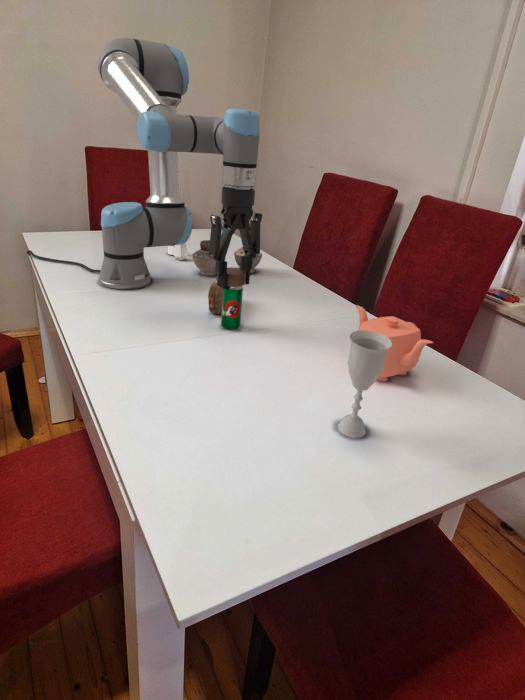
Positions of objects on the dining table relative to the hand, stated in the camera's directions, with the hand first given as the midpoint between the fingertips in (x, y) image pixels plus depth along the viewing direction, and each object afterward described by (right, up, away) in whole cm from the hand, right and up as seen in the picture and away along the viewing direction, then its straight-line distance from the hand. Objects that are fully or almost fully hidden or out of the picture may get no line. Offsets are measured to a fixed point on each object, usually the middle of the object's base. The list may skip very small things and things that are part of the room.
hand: (233, 284), depth 112 cm
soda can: (-1, -10, +5) cm, 12 cm away
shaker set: (-25, +18, +58) cm, 66 cm away
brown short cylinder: (0, 0, 0) cm, 0 cm away
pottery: (-5, +11, +47) cm, 48 cm away
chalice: (+23, -31, -30) cm, 49 cm away
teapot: (+34, -21, -8) cm, 41 cm away
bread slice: (-5, -5, +16) cm, 18 cm away
